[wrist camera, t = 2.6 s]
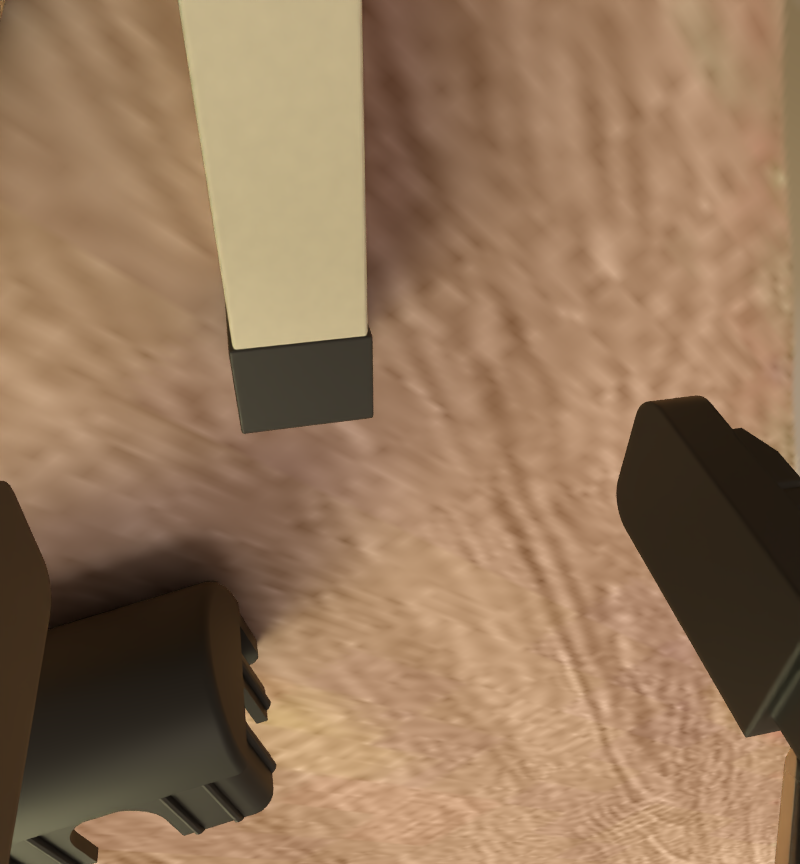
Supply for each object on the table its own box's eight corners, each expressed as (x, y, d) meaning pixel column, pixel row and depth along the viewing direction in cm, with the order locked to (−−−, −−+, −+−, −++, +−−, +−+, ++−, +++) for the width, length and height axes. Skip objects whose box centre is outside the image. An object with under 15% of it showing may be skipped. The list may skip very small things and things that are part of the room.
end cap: (203, 526, 24) (208, 722, 19) (273, 643, 29) (291, 823, 24) (-99, 617, 24) (-173, 838, 19) (21, 719, 29) (-14, 917, 24)
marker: (161, -114, 14) (156, -89, 11) (338, -116, 14) (367, -92, 12) (235, 358, 21) (242, 435, 18) (353, 345, 21) (373, 418, 19)
